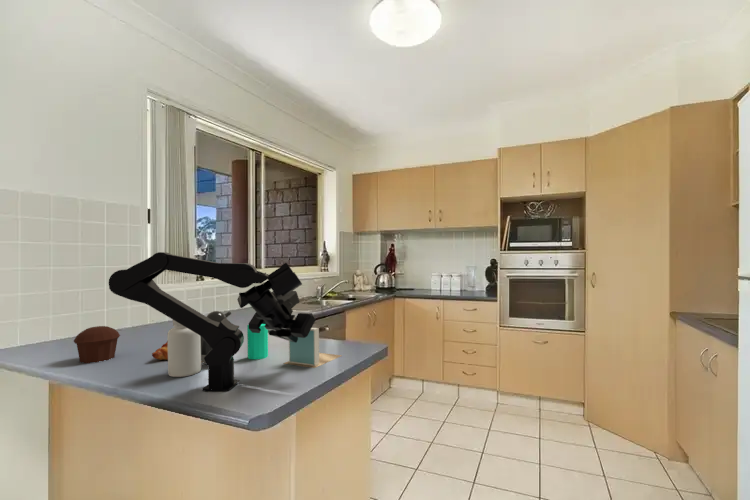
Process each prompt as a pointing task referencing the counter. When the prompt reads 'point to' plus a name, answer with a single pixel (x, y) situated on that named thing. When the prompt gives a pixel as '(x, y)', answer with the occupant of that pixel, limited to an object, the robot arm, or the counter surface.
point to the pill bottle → (183, 351)
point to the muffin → (96, 344)
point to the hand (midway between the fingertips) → (296, 341)
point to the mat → (322, 360)
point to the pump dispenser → (205, 347)
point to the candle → (257, 343)
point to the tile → (305, 349)
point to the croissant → (161, 352)
